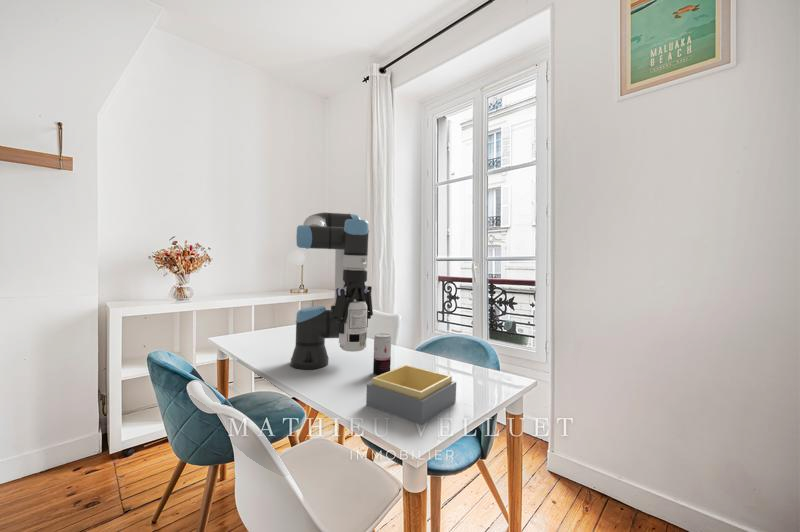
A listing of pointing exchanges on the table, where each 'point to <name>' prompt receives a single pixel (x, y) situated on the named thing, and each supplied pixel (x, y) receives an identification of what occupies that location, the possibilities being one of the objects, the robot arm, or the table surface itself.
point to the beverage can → (382, 353)
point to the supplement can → (356, 326)
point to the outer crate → (411, 402)
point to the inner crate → (412, 381)
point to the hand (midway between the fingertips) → (353, 341)
